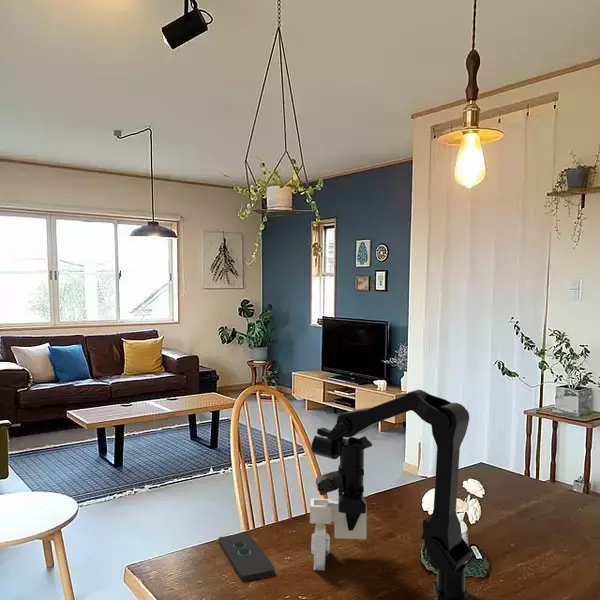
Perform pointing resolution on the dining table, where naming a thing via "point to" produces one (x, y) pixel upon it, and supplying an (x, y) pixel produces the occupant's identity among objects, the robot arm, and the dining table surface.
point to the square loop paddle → (336, 519)
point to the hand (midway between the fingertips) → (350, 527)
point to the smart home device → (246, 556)
